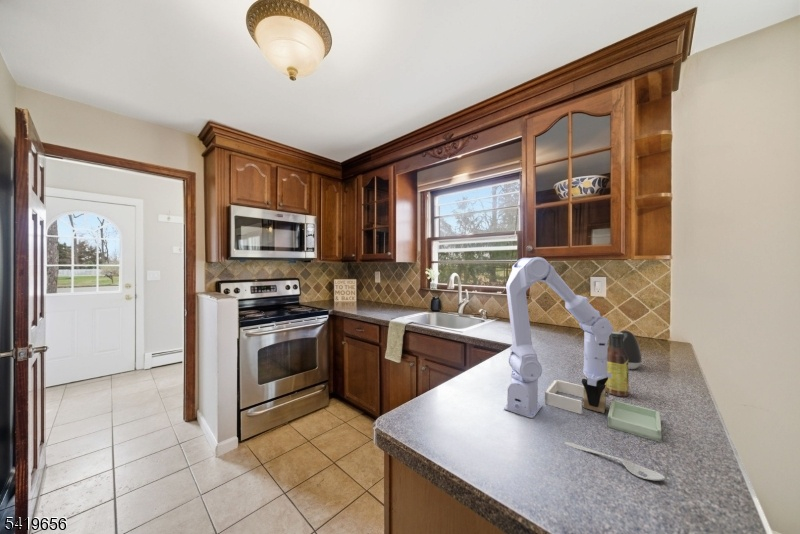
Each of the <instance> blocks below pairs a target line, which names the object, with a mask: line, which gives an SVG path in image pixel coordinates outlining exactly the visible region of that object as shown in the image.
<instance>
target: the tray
mask: <svg viewBox="0 0 800 534" xmlns="http://www.w3.org/2000/svg"><path fill="white" fill-rule="evenodd" d="M608 410H609V411H608V414H607V427H608V428H610V429H614V430H618V431H620V432H624V433H628V434H631V435H634V436H637V437H640V438H644V439H648V440H652V441H654V442H658V443H662V425H661V424H662V423H661V414H660V410H657V409H656V410H655V409H651V408H647V407H643V406H639V405H635V404H633V403H627V402H623V401H619V400H617V399H616V400H615V399H611V403H610V406H609V409H608Z"/></svg>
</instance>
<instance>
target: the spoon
mask: <svg viewBox="0 0 800 534" xmlns="http://www.w3.org/2000/svg"><path fill="white" fill-rule="evenodd" d="M563 444H564V445H565V444H566V445H567V446H568V447H571V448H573V449H576V450H578V451H583V452H587V453H590V454H591V453H592V454H596V455H599V456H603V457H606V458H609V459H613V460H615V461H619V462H620V463H622V464H623V466H624V467H625V468H626V470H628V471H629V472H630V473H631V474H633V475H634V476H635V477H639V478H640V479H645V480H650V481H664V480H666V476H665V475H663V474H662V473H659V472H657V471H654V470H652V469H649V468H647V467H644V466H642V465H640V464H637V463H634V462H631V461H629V460H626V459H623V458H621V457H618V456H614V455H610V454H606V453H603V452H601V451H599V450H595V449H592V448H588V447H585V446H583V445H579V444H576V443H574V442H570V441H564V443H563ZM638 472H641V473H643V474H645V475H647V476H643V475H640V474H639V473H638Z"/></svg>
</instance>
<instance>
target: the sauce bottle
mask: <svg viewBox="0 0 800 534" xmlns="http://www.w3.org/2000/svg"><path fill="white" fill-rule="evenodd" d="M620 332H621V331H613V332H612V333H611V335H610V336H609V341H608V354H607V373H611V374H612V378H609V377H608V380H607V381H606V383H605V385H606V386H605V387H606V391H609V392H610V395H613V396H616V397H627V396H628V395H629V390H630V389H629V386H630V385H629V380H630V379H629V378H630V377H629V369H628V357H627V354H626V352H625V349H624V347H623V338H624V334H623V333H620Z"/></svg>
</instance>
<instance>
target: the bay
mask: <svg viewBox="0 0 800 534" xmlns="http://www.w3.org/2000/svg"><path fill="white" fill-rule="evenodd" d="M557 392H559V393H562V394H567V395H570V396H575V397H579V398H583V399H584V386H583V384H582V385H581V384H577V383H572V382H568V381H564V380H561V379H560V380H559V379H554V380H553V381H552V383H551V384H550V385H549V386H548V387H547V389H546V391H545V392H544V404H545V405H547V406H551V407H556V408H559V409H561V410H565V411H568V412H572V413H576V414H579V415H582V414H583V401H582V400H580V399H577V398H572V397H568V396H565V395H561V394H557Z"/></svg>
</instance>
